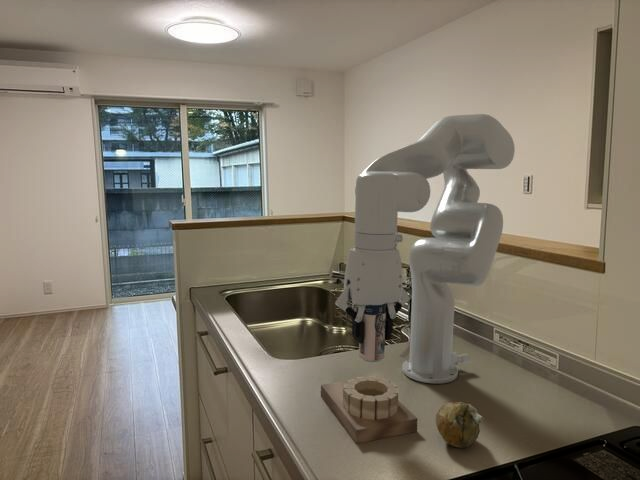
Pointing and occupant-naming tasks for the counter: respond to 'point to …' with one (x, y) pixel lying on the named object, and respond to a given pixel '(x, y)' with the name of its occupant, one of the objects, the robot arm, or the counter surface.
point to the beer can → (373, 333)
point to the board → (367, 425)
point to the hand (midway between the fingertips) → (372, 338)
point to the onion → (458, 423)
